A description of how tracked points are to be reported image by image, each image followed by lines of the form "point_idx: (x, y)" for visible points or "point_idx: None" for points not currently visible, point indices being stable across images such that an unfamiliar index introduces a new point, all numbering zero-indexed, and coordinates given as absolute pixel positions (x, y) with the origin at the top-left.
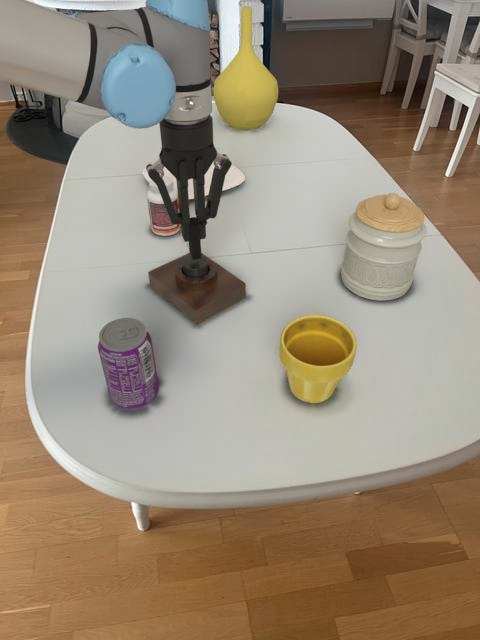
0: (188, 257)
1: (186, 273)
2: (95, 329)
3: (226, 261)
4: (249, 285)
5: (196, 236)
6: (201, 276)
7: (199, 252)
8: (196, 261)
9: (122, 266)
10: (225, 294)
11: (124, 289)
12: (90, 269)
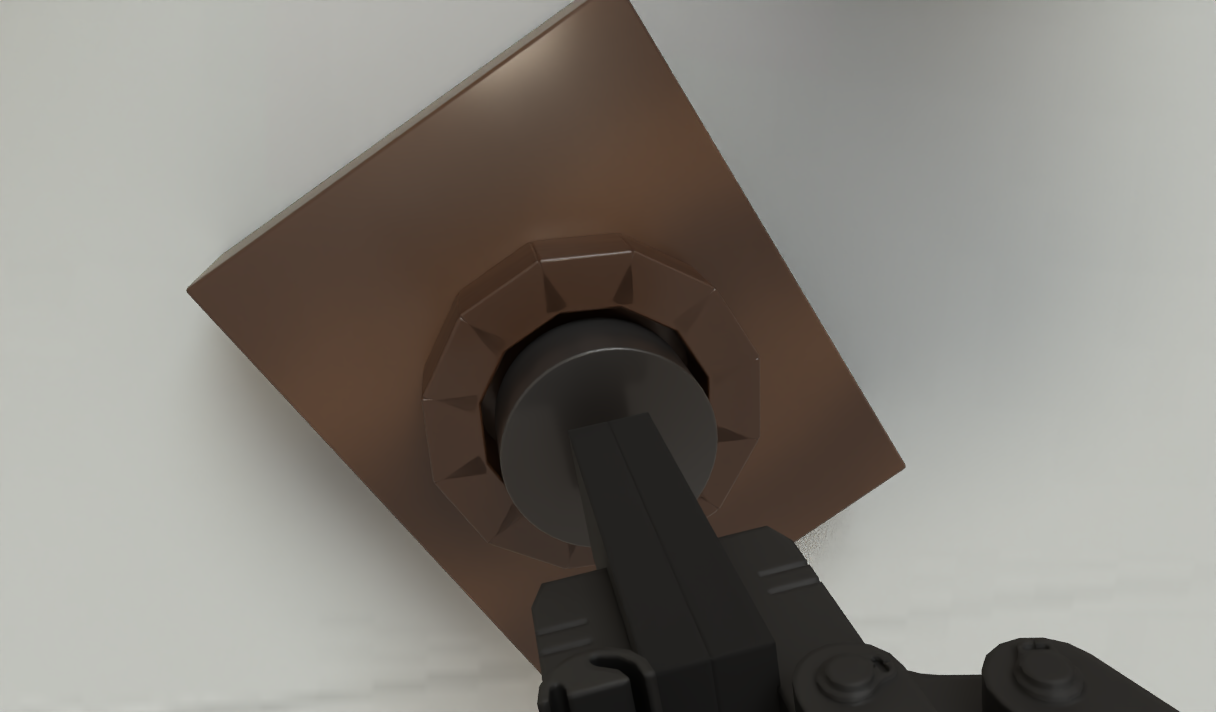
0: None
1: (679, 358)
2: (1204, 37)
3: (356, 640)
4: (191, 390)
5: (658, 560)
6: (557, 330)
7: (594, 457)
8: None
9: (981, 597)
10: (363, 162)
11: (998, 396)
12: (1144, 574)
